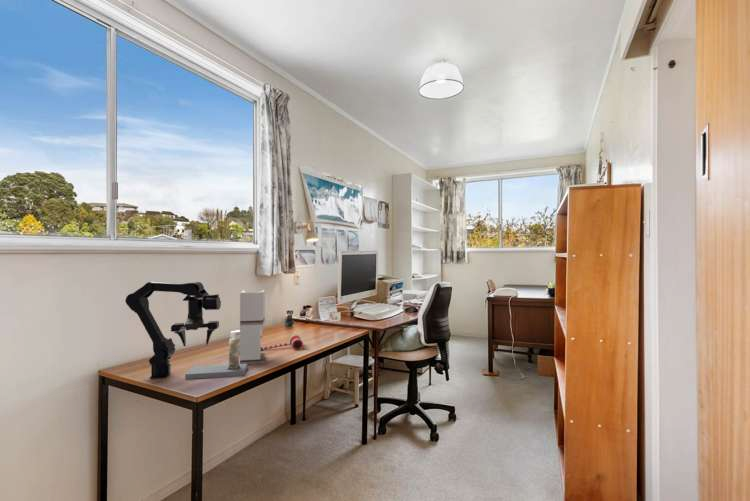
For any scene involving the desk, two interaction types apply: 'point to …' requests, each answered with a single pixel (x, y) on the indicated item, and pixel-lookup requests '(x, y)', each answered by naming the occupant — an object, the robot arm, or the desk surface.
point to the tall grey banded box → (251, 326)
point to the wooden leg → (233, 353)
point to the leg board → (215, 371)
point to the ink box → (236, 336)
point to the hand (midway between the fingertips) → (196, 345)
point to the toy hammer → (294, 342)
